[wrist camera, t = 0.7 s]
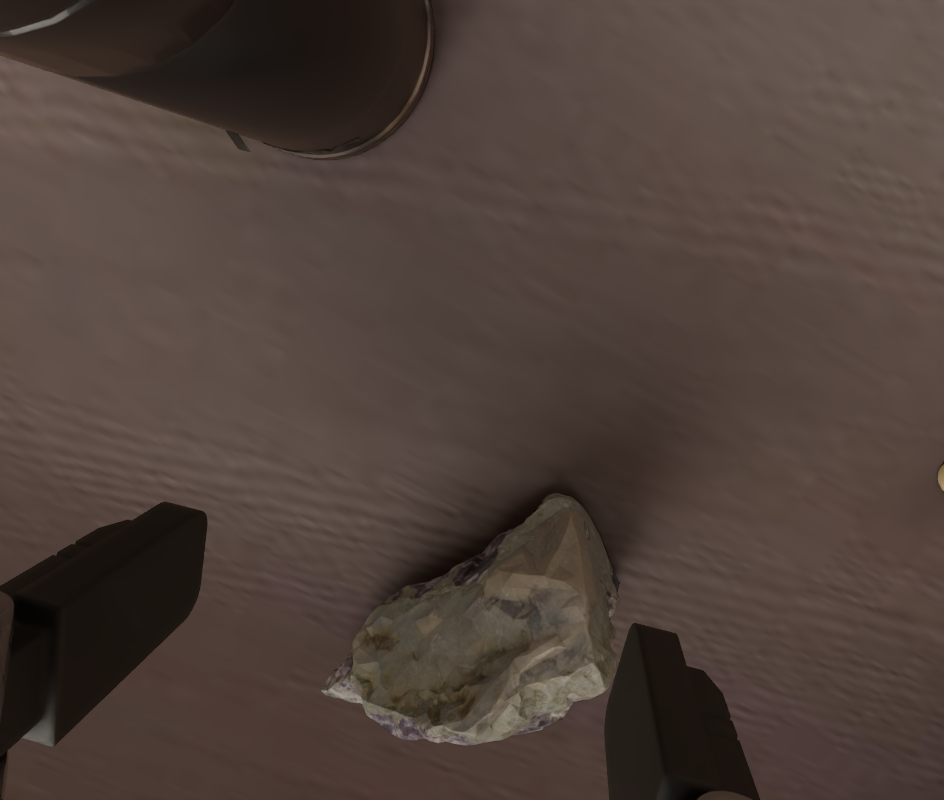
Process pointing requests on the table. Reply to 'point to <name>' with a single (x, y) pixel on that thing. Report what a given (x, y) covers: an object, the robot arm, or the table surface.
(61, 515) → the table surface
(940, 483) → the grandmother figurine
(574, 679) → the mineral rock
